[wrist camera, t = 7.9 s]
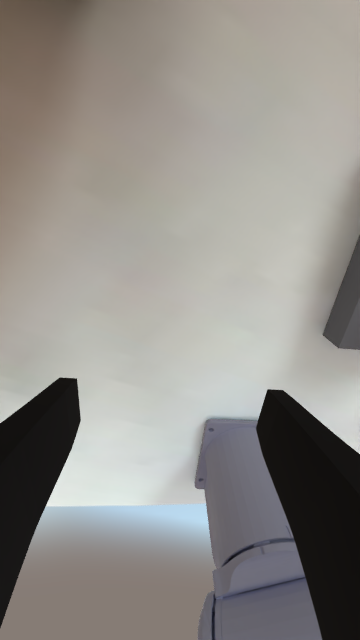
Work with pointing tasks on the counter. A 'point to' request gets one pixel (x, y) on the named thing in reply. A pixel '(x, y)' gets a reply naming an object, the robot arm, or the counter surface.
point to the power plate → (347, 308)
